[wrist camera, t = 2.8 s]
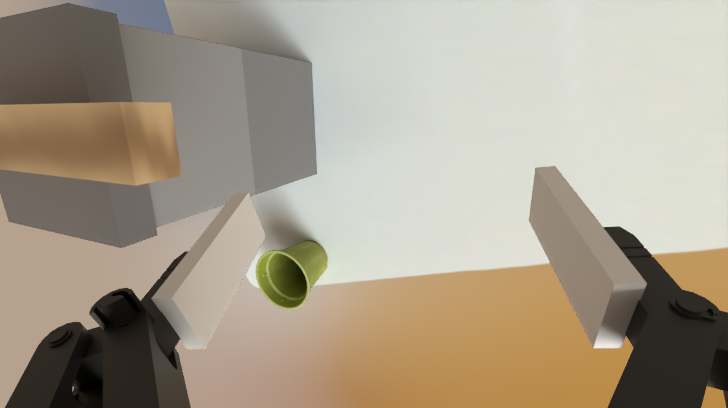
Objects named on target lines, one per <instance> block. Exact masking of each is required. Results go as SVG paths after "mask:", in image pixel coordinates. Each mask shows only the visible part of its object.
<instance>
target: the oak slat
mask: <svg viewBox="0 0 728 408" xmlns="http://www.w3.org/2000/svg"><path fill="white" fill-rule="evenodd" d="M0 169H2V170H10V171H19V172H27V173H35V174H44V175H52V176H60V177H68V178H77V179H85V180H93V181H102V182H110V183H118V184H126V185H135V186H137V185H141V184H146V183H151V182H156V181H161V180H166V179H170V178H175V177H180V176H182V171H181V165H180V158H179V152H178V145H177V139H176V132H175V126H174V120H173V113H172V107H171V103H168V102H101V103H59V104H16V105H0Z"/></svg>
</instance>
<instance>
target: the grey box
mask: <svg viewBox="0 0 728 408" xmlns="http://www.w3.org/2000/svg"><path fill="white" fill-rule="evenodd" d="M101 102H168V103H171V107H172V113H173V120H174V126H175V132H176V139H177V145H178V152H179V158H180V165H181V171H182V176H180V177H175V178H170V179H166V180H161V181H156V182H151V183H146V184H141V185H137V186H135V185H126V184H118V183H110V182H102V181H93V180H85V179H77V178H68V177H60V176H52V175H44V174H35V173H27V172H19V171H10V170H2V169H0V194H1V197H2V200H3V203H4V207H5V210H6V213H7V217H8V220H9V222H13V223H17V224H21V225H25V226H30V227H34V228H38V229H42V230H47V231H51V232H55V233H59V234H64V235H69V236H72V237H77V238H81V239H85V240H90V241H94V242H99V243H102V244H107V245H111V246H115V247H120V248H123V247H126V246H129V245H131V244H134V243H137V242H140V241H143V240H145V239H148V238H151V237H154V236H157V230H156V228H157V227H160V226H162V225H165V224H168V223H172V222H175V221H178V220H180V219H183V218H186V217H189V216H192V215H195V214H198V213H201V212H204V211H207V210H210V209H213V208H216V207H219V206H222V205H225V204H226V203H227V202H228V201H229V200H230V198H231V197H232V196H233V195H234V194H235V193H247V192H249V195H250V196H252V195H255V194H258V193H261V192H264V191H267V190H270V189H273V188H276V187H279V186H282V185H285V184H288V183H291V182H294V181H297V180H300V179H303V178H306V177H309V176H312V175H315V174H317V167H316V146H315V125H314V104H313V83H312V63H309V62H304V61H300V60H295V59H290V58H285V57H280V56H275V55H270V54H265V53H261V52H256V51H251V50H246V49H241V48H236V47H231V46H226V45H221V44H217V43H212V42H207V41H202V40H197V39H192V38H187V37H182V36H177V35H173V34H168V33H163V32H158V31H153V30H148V29H143V28H138V27H133V26H128V25H124V24H119V23H118V19H117V14H114V13H110V12H105V11H101V10H97V9H92V8H87V7H83V6H79V5H74V4H70V3H66V4H62V5H58V6H53V7H48V8H44V9H39V10H34V11H30V12H25V13H21V14H17V15H12V16H7V17H2V18H0V105H16V104H59V103H101Z"/></svg>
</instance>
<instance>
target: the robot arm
mask: <svg viewBox="0 0 728 408" xmlns="http://www.w3.org/2000/svg"><path fill="white" fill-rule="evenodd" d="M529 221H530V223H531V225H532V227H533V229H534V231H535V233H536V235H537V237H538V239H539V241H540V243H541V245H542V247H543V249H544V251H545V253H546V255H547V257H548V259H549V261H550V263H551V265H552V267H553V269H554V271H555V273H556V275H557V277H558V279H559V281H560V283H561V285H562V287H563V289H564V291H565V293H566V295H567V297H568V299H569V301H570V303H571V305H572V307H573V309H574V311H575V313H576V315H577V317H578V318H579V320H580V323H581V325H582V327H583V328H584V331H585V332H586V334H587V336H588V339H589V340H590V342H591V344H592V346H593V348H621V347H622V344H623V342H624V339H625V337H626V336H627V338H628V339H629V341H630V342H631V344H632V346H633V347H634V349H633V351H632V353H631V355H630V358H629V360H628V362H627V365H626V367H625V369H624V371H623V374H622V376H621V378H620V381H619V383H618V385H617V388H616V390H615V392H614V394H613V397H612V399H611V401H610V404H609V406H608V408H701V406H702V402H703V398H704V394H705V390H706V386H709V387H713V388H717V389H720V390H723V392H724V397H725V402H726V407H727V408H728V313H727V312H723V311H719V309H718V308H717V307H716V306H715V305H714V304H713V303H711V302H710V301H709V300H707V299H706V298H704V297H701V296H699V295H697V294H695V293H693V292H689V291H685V290H682V289H681V288H680V287H679V286H678V285H677V284H676V282H675V281H674V280H673V279H672V278H671V277H670V275H669V274H668V273H667V272H666V271H665V270H664V269H663V267H662V266H661V265H660V264H659V263H658V262H657V261H656V260H655V259H654V258H653V257H652V255H651V254H650V253H649V252H648V250H647V249H646V248H644V246H643V245H642V244H641V243H640V241H639V240H638V239H637V238H636V237H635V236H634V235H633V234H631V233H629V232H628V231H626V230H624V229H623V228H621V227H602V225H601V224H600V223H599V222H598V220H597V219H596V218H595V216H594V215H593V214H592V213H591V211H590V210H589V209H588V207H587V206H586V205H585V204H584V202H583V201H582V200H581V199H580V197H579V196H578V195H577V193H576V192H575V191H574V190H573V188H572V187H571V186H570V185H569V183H568V182H567V181H566V179H565V178H564V177H563V176H562V174H561V173H560V172H559V171H558V169H557V168H556V167H555V166H551V167H540V168H535V176H534V184H533V192H532V200H531V208H530V216H529ZM265 237H266V235H265V233H264V230H263V228H262V225H261V223H260V220H259V218H258V215H257V212H256V210H255V207H254V205H253V202H252V200H251V197H250V195H249V192H247V193H235V194H234V195H233V196H232V197H231V198H230V200H229V201H228V202H227V203H226V205H225V206H224V207H223V208H222V210H221V211H220V212H219V214H218V215H217V216H216V217H215V219H214V220H213V221H212V222H211V224H210V225H209V226H208V227H207V229H206V230H205V231H204V233H203V234H202V235H201V236H200V238H199V239H198V240H197V242H196V243H195V244H194V245H193V247H192V248H191V249H190V250H189V251H188V252H184V253H183V254H182V255H180V256H179V257H178V258H176V259H175V260H174V261H173V262H172V263H171V265H170V266H169V267H168V268H167V271H165V272H164V273H163V275H162V276H161V278H160V279H158V281H157V282H156V283H155V284H154V285H153V287H152V288H151V289H150V290H149V292H148V293H147V294H146V295H145V296H144V298H143V299H142V300H141V301H140V300H139V299H138V298H137V296H136V295H135V294H134V292H133V291H132V290H131V289H128V288H123V289H118V290H115V291H112V292H110V293H109V294H107V295H105V296H103V297H102V298H101V299H100V300H98V301H97V302H96V303H95V304H94V305H93V307H92V308H91V310H90V315H91V316H92V317H93V319H94V320H95V321H96V322H97V323H98V324H99V325H100V327H97V328H93V329H90V330H86V328H84V326H83V325H82V324H81V323H80V322H72V323H67V324H65V325H63V326H61V327H59V328H57V329H55V330H53V331H52V332H51V333H49V334H48V336H46V337H45V338H44V339H43V340H42V342H41V343H40V344H39V345H38V347H37V349H36V351H35V353H34V355H33V356H32V358H31V360H30V362H29V364H28V366H27V368H26V370H25V371H24V373H23V375H22V377H21V379H20V381H19V383H18V384H17V386H16V388H15V390H14V392H13V394H12V396H11V397H10V399H9V401H8V403H7V405H6V407H5V408H191V407H190V403H189V398H188V394H187V390H186V385H185V380H184V376H183V372H182V367H181V363H180V358H179V354H178V352H177V351H176V349H175V346H176V345H177V343H178V341H179V340H181V341H182V343H183V344H184V345H185V347H186V348H187V349H206V347H207V345H208V343H209V341H210V340H211V338H212V336H213V334H214V332H215V330H216V328H217V327H218V324H219V323H220V321H221V319H222V317H223V315H224V314H225V312H226V310H227V308H228V306H229V304H230V302H231V301H232V299H233V297H234V295H235V293H236V291H237V289H238V288H239V285H240V284H241V282H242V280H243V278H244V276H245V274H246V273H247V271H248V269H249V267H250V265H251V263H252V261H253V260H254V258H255V256H256V254H257V252H258V250H259V248H260V247H261V245H262V243H263V241H264V239H265ZM72 387H74V390H73V392H72Z"/></svg>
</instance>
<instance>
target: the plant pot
mask: <svg viewBox="0 0 728 408" xmlns="http://www.w3.org/2000/svg"><path fill="white" fill-rule="evenodd" d="M326 268H327V255H326V253H325V251H324V249H323V248H322V247H321V246H320V245H319V244H317V243H315V242H310V241H304V242H302V243H299V244H297V245H294V246H292V247H289V248H287V249H284V250H272V251H269V252H266V253H265V254H263V255H262V256H261V257H260V259H259V260H258V263H257V266H256V278H257V281H258V285H259V287H260V289H261V291H262V292H263V294H264V295H265V296H266V297H267V299H268V300H270V301H271V302H272V303H273V304H274V305H276V306H278V307H280V308H283V309H287V310H293V309H297V308H299V307H301V306H302V305H303V304H304V303H305V302H306V300H307V298H308V296H309V293H310V290H311V288H312V286H313V285H314V284H315V282H316V281H317V280H318V279H319V277H320V276H321V275H322V273H323V272H324V271H325V269H326Z"/></svg>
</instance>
